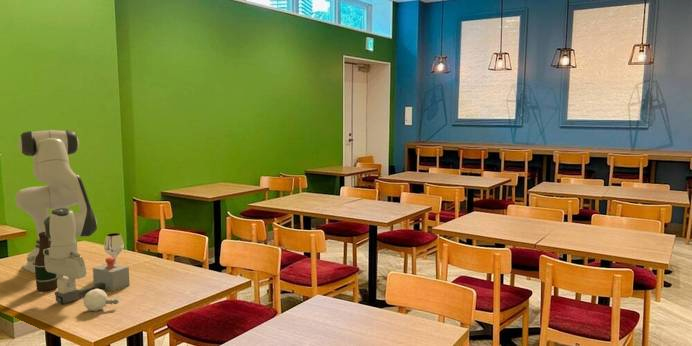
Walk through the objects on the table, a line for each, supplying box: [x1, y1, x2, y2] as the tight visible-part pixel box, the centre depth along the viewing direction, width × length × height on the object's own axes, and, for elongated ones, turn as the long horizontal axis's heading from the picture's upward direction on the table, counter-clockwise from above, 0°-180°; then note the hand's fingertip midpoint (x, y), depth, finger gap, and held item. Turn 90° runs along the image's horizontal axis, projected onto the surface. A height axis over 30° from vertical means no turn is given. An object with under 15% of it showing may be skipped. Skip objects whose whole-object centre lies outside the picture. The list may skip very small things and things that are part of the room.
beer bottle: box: [34, 232, 58, 293], centre depth 206 cm, size 8×8×24 cm
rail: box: [56, 283, 106, 305], centre depth 199 cm, size 2×19×2 cm, turn 153°
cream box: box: [54, 276, 80, 305], centre depth 194 cm, size 6×6×9 cm
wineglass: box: [103, 232, 125, 264], centre depth 227 cm, size 8×8×18 cm
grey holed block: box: [92, 263, 131, 292], centre depth 211 cm, size 12×8×8 cm, turn 63°
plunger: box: [105, 256, 115, 269], centre depth 211 cm, size 4×4×9 cm
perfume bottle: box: [83, 289, 119, 312], centre depth 186 cm, size 8×8×12 cm
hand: (66, 285), depth 193 cm, fingers closed on cream box, 4 cm apart
